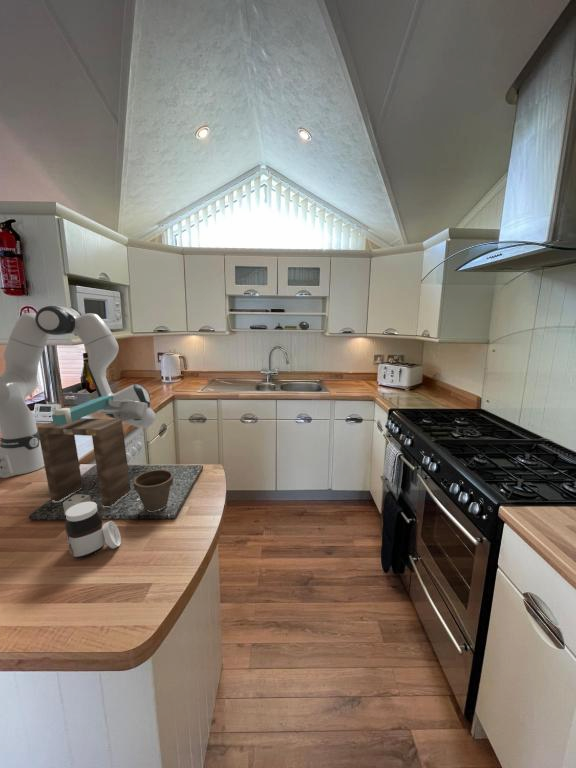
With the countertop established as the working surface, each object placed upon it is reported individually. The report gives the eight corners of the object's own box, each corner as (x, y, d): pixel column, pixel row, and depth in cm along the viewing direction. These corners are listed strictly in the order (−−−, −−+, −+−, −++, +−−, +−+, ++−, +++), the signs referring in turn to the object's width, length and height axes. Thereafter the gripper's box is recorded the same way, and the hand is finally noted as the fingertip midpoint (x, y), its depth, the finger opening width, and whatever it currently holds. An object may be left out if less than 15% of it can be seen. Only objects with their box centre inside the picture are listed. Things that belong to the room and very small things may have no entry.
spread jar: (66, 547, 88) (58, 507, 86) (112, 528, 96) (106, 490, 93) (78, 571, 79) (70, 527, 77) (127, 547, 87) (122, 507, 85)
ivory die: (65, 517, 101) (62, 501, 100) (78, 508, 106) (75, 492, 105) (79, 519, 100) (77, 502, 99) (92, 509, 105) (89, 493, 104)
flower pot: (183, 499, 109) (180, 471, 107) (160, 519, 99) (157, 488, 97) (153, 495, 113) (150, 467, 111) (128, 514, 102) (124, 483, 100)
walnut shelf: (50, 503, 109) (36, 427, 104) (75, 487, 119) (64, 417, 114) (110, 508, 105) (98, 430, 100) (131, 492, 115) (121, 419, 110)
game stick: (53, 424, 99) (50, 411, 99) (105, 403, 120) (103, 392, 120) (64, 425, 99) (62, 412, 98) (114, 403, 120) (113, 392, 119)
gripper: (104, 402, 132) (77, 391, 119) (151, 403, 128) (129, 393, 115) (100, 417, 130) (73, 409, 117) (148, 420, 126) (125, 411, 113)
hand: (101, 401), depth 116 cm, fingers closed on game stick, 3 cm apart
